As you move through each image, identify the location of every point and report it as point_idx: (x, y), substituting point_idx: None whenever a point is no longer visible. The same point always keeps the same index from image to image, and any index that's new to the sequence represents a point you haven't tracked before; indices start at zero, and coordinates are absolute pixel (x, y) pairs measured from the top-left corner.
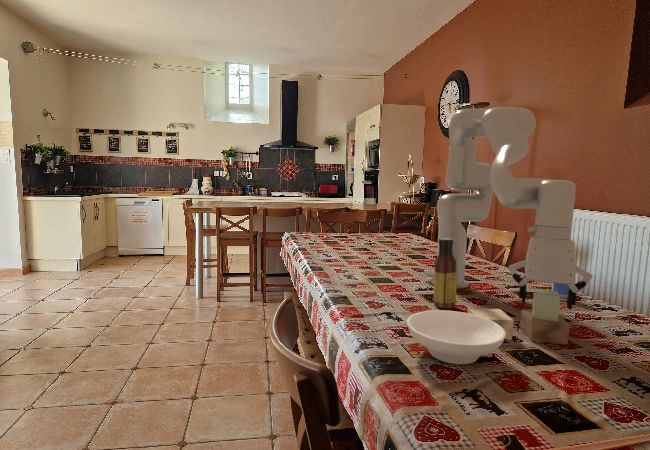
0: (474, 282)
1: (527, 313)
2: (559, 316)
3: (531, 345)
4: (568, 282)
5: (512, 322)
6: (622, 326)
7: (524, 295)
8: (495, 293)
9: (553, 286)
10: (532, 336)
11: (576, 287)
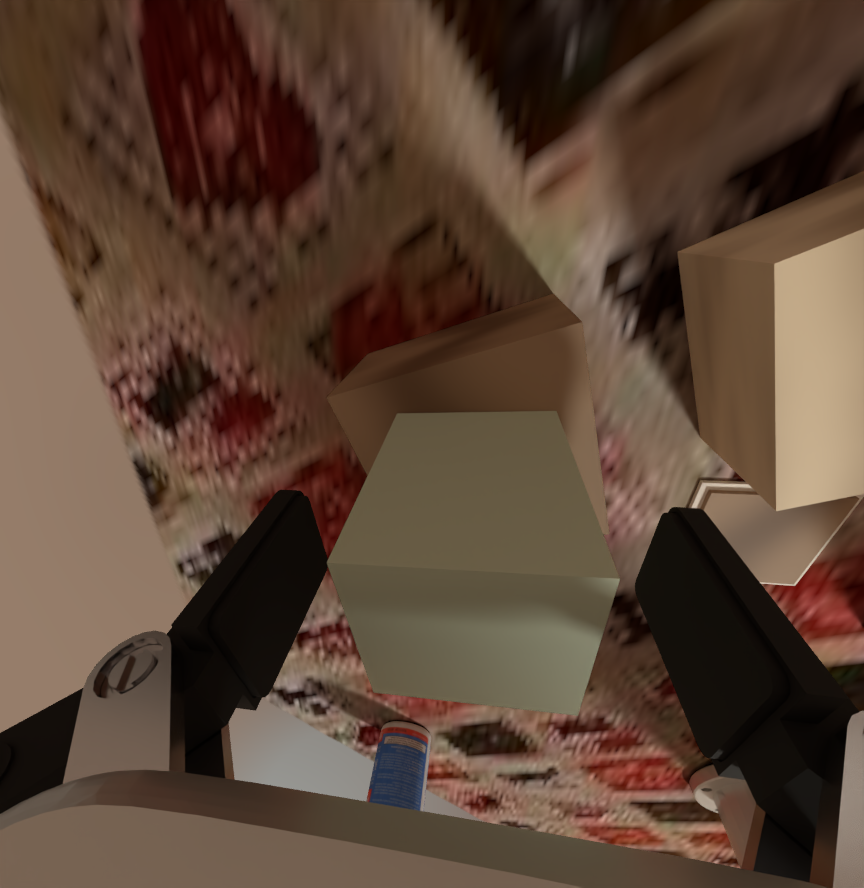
0: (653, 793)
1: None
2: None
3: (559, 214)
4: (27, 833)
5: (768, 256)
6: None
7: (727, 567)
8: (601, 740)
9: (422, 779)
10: (550, 301)
11: (82, 714)
